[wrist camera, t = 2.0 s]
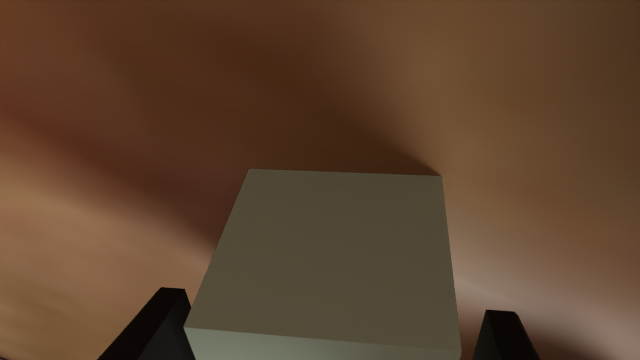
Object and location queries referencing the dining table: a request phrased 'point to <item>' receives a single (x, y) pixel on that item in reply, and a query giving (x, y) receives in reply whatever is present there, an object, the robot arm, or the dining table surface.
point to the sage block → (330, 271)
